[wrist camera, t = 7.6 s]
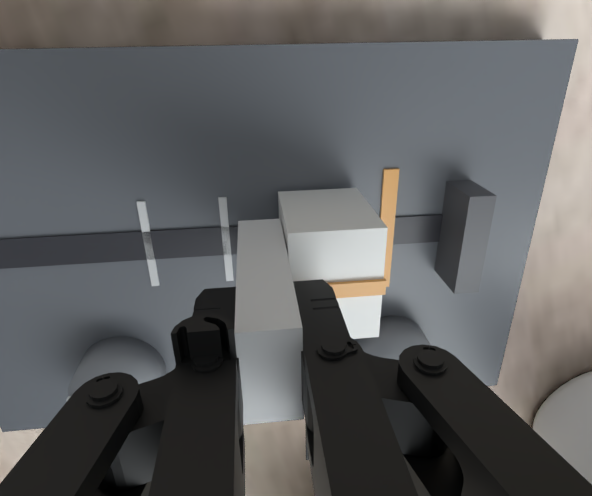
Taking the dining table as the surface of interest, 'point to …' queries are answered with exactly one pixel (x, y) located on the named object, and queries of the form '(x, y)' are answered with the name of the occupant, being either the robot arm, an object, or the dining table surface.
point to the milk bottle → (569, 423)
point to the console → (258, 190)
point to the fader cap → (338, 250)
